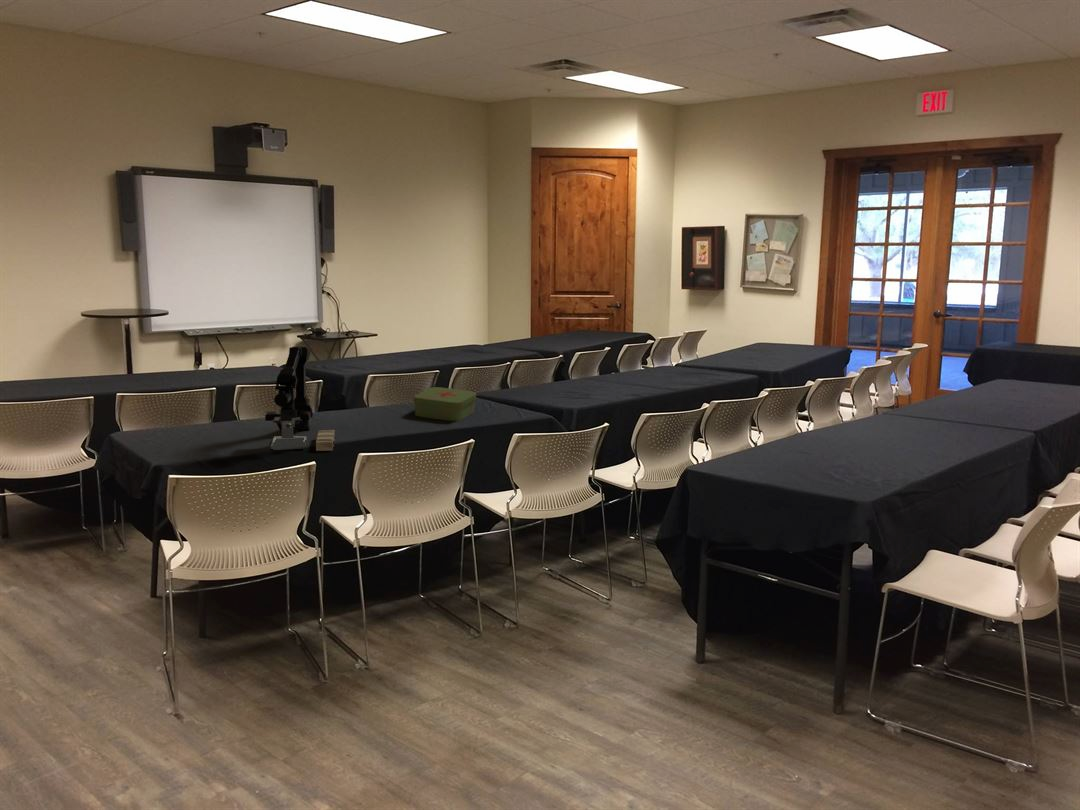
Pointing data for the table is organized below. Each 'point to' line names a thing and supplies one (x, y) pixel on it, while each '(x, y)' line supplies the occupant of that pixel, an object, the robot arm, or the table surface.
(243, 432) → the table surface
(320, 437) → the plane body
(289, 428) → the dark grey block
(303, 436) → the parts tray
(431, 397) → the first aid kit
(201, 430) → the table surface
